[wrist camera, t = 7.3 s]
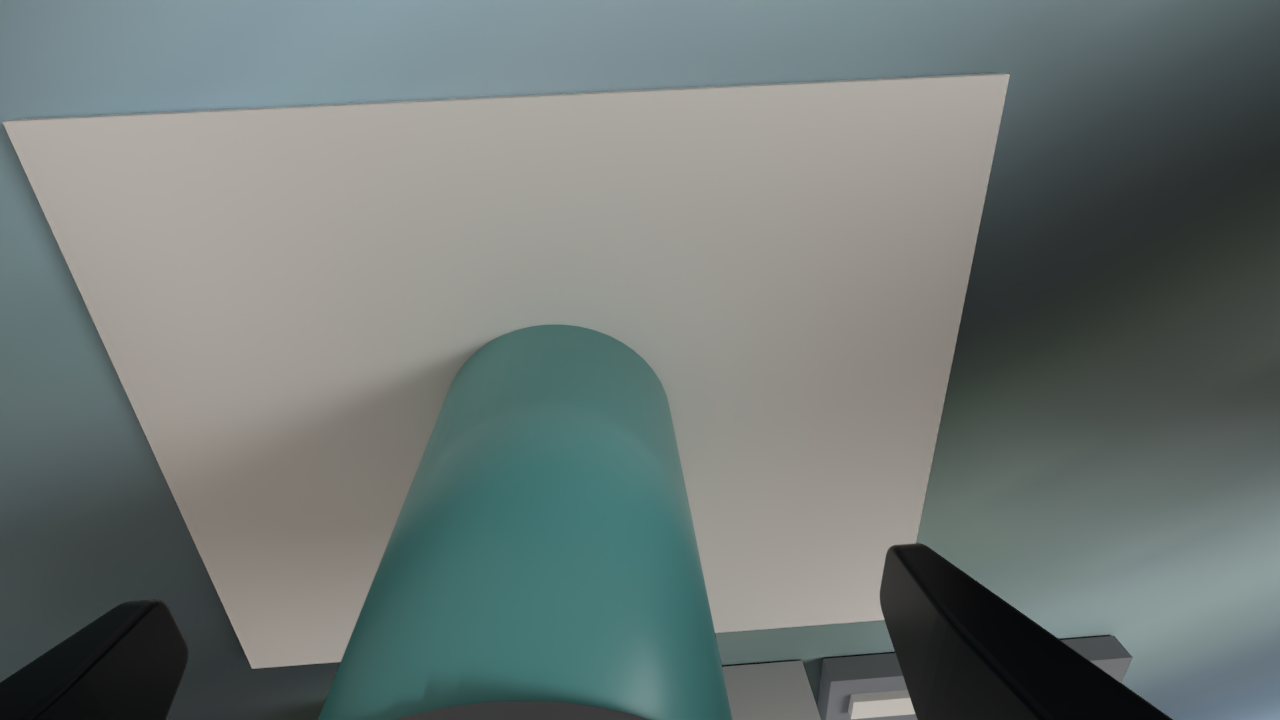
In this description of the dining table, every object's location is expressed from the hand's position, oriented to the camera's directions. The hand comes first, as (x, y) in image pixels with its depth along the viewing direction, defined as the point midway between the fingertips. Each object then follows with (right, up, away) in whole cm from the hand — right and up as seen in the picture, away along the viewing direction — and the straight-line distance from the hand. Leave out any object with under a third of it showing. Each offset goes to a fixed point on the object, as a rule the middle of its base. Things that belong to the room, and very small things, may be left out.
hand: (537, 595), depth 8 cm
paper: (0, +2, +4) cm, 4 cm away
